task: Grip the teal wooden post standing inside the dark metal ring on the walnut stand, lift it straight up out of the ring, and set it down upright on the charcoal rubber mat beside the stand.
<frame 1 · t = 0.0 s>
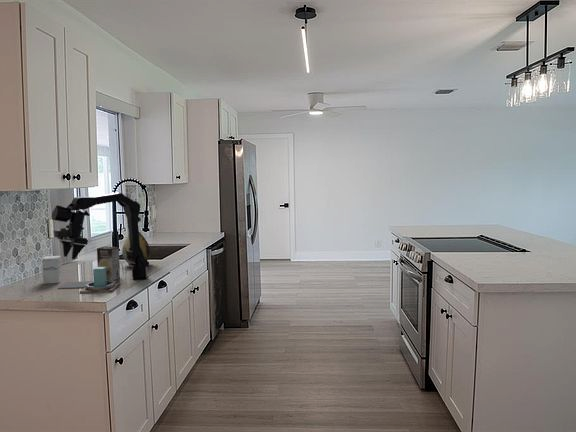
hand: (69, 257, 208), 15 cm above the countertop, tool pointing down, fingers open, 9 cm apart
metal ring: (100, 286, 213), in the walnut stand
supplement box: (52, 282, 228), on the countertop
teal post: (100, 278, 213), in the metal ring
ceramic jug: (136, 266, 266), on the countertop
charcoal mat: (75, 285, 220), on the countertop
coffee box: (109, 278, 235), on the countertop
walnut stand: (100, 289, 213), on the countertop
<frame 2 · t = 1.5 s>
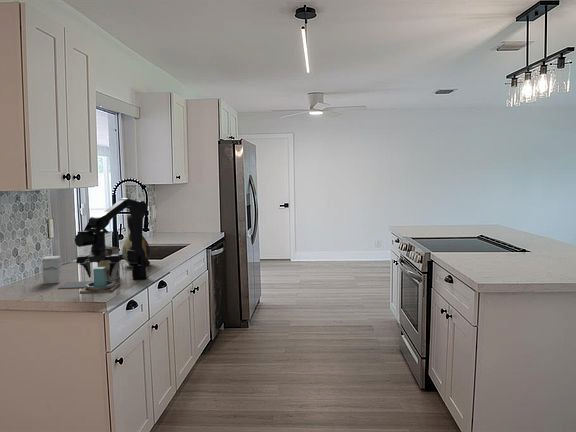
hand: (100, 277, 213), 6 cm above the countertop, tool pointing down, fingers open, 9 cm apart
nothing on the countertop moved.
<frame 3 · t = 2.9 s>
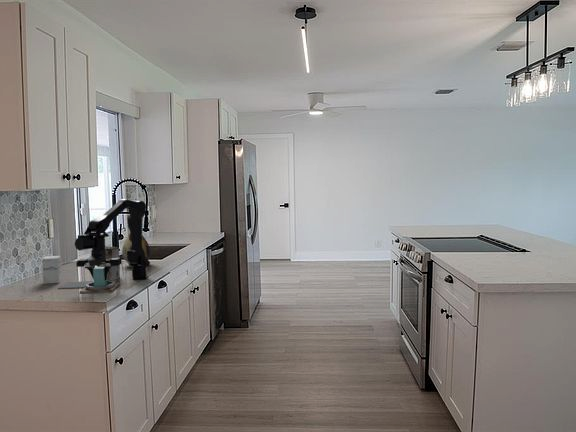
hand: (100, 280, 213), 4 cm above the countertop, tool pointing down, fingers closed on teal post, 4 cm apart
teal post: (100, 278, 213), in the metal ring, touching gripper
everything else where it was.
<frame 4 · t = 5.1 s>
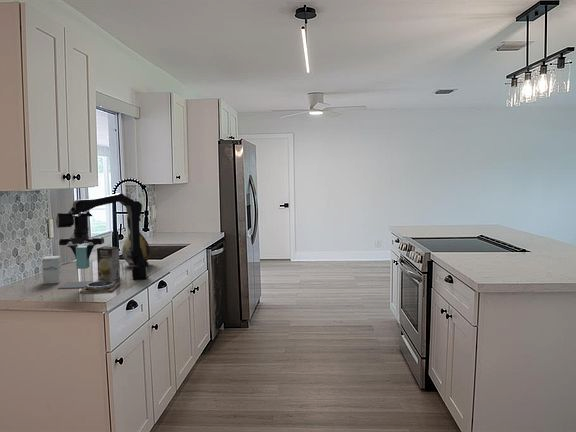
hand: (82, 259, 216), 13 cm above the countertop, tool pointing down, fingers closed on teal post, 4 cm apart
teal post: (82, 257, 216), point 14 cm above the countertop, touching gripper
everything else where it was.
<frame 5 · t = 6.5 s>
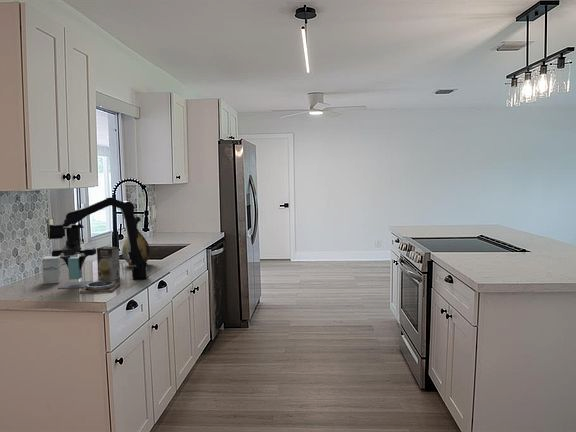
hand: (75, 270, 220), 7 cm above the countertop, tool pointing down, fingers closed on teal post, 4 cm apart
teal post: (75, 268, 220), point 8 cm above the countertop, touching gripper
everything else where it was.
when the fingers open (6 cm above the countertop, at t = 7.6 s): teal post drops 1 cm, resting on charcoal mat.
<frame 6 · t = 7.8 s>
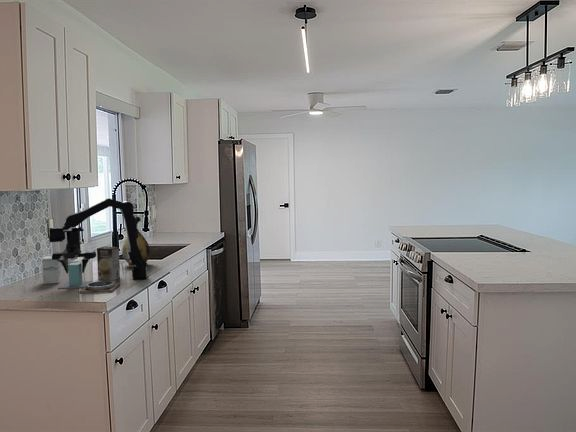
hand: (75, 273, 220), 6 cm above the countertop, tool pointing down, fingers open, 7 cm apart
teal post: (75, 274, 220), on the charcoal mat
everything else where it was.
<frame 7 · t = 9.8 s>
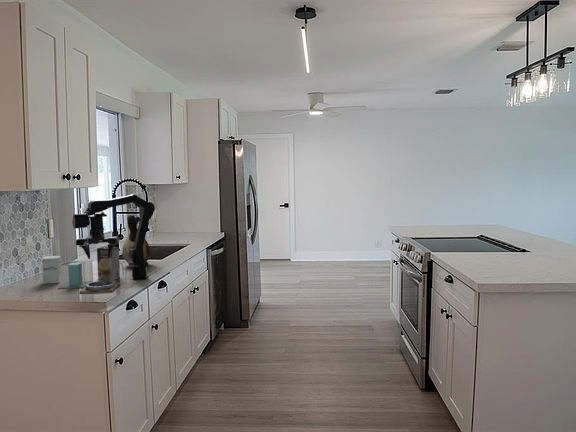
hand: (99, 258, 221), 13 cm above the countertop, tool pointing down, fingers open, 9 cm apart
nothing on the countertop moved.
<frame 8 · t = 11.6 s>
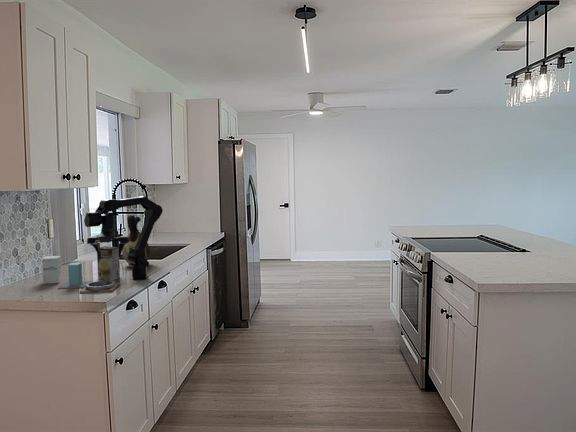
hand: (109, 257, 222), 13 cm above the countertop, tool pointing down, fingers open, 9 cm apart
nothing on the countertop moved.
at the end: teal post inside the target area on the charcoal mat (0.1 cm from its centre), point 5.5 cm above the charcoal mat's base; teal post tilted 0°; the gripper is holding nothing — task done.
